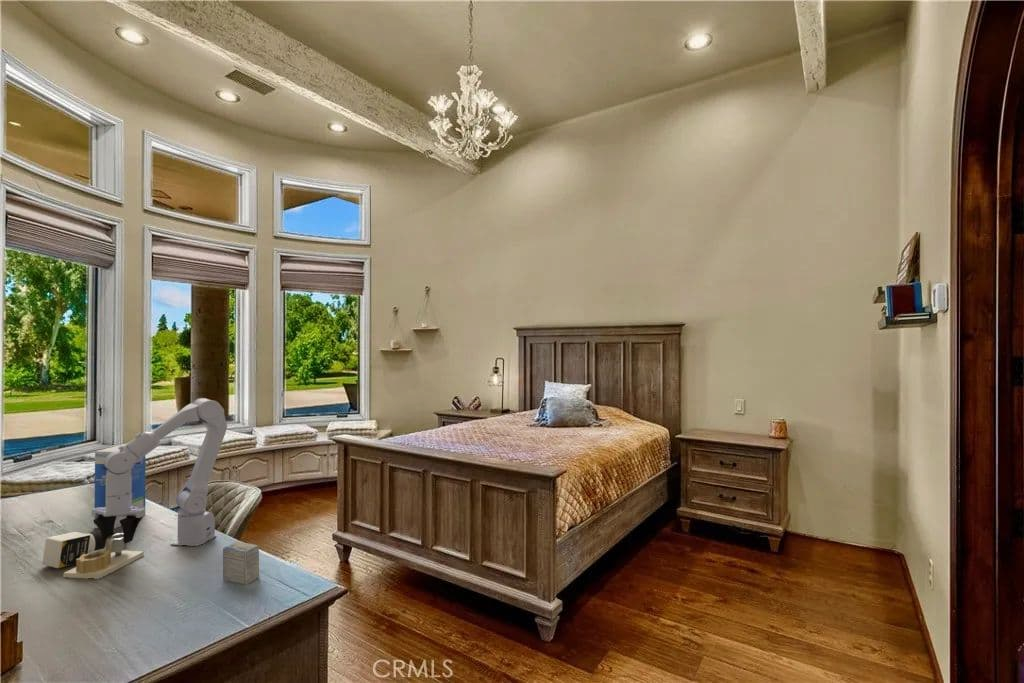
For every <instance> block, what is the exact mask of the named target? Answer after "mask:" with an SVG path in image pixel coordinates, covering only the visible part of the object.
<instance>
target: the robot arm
mask: <svg viewBox="0 0 1024 683" xmlns="http://www.w3.org/2000/svg"><path fill="white" fill-rule="evenodd" d="M199 421H201V422H202V424H203V425H204V427H205V428H206V430H207V431H206V433H205V436H204V439H203V441H202V444H201V446H200V449H199V452H198V455H197V458H196V460H195V463H194V466H193V468H192V471H191V474H190V477H189V478H188V480H187V481H186V482H185V483H184V485H183V487H182V489H181V490H180V491H179V493H178V494H177V495H176V497H175V501H176V505H177V506H178V507H180V508H179V510H178V511H177V539H176V540H174V541H172V542H170V544H169V545H170V546H182V545H187V547H188V546H189V547H200V546H202V545H203V544H205V543H206V541H207V542H208V540H209V541H210V540H212V539H214V538H216V537H217V534H216V532H215V531H216V528H215V527H216V525H215V524H216V519H215V515H214V513H213V512H209V511H207V510H206V508H207V505H208V492H209V480H210V477H211V475H212V471H213V468H214V466H215V463H216V461H217V457H218V454H219V452H220V449H221V446H222V443H223V440H224V438H225V435H226V433H227V430H228V425H227V419H226V416H225V409H224V408H223V406H222V405H221V404H220V402H218V401H217V400H213V399H212V400H211V399H209V398H205V397H200V398H197V399H195V400H194V401H193V402H192V403H189V404H187V405H185V406H184V407H183V408H181V409H180V410H179V411H177V412H176V413H174V414H173V415H172V416H171V417H169V418H168V419H167V420H165V421H164V422H163V423H162V424H161V425H159V426H157V427H156V428H155V429H153V430H152V431H143V432H142V433H141V432H138V433H137V434H135V435H134V438H133V439H132V440H129V442H126V443H127V444H126V443H125V444H126V445H124V446H120V447H118V449H119V450H118V451H114V452H112V453H110V454H109V455H108V456H107V457H106V459H105V461H104V465H105V467H106V468H107V469H108V470H107V473H106V476H107V478H106V507H98V508H95V507H94V508H92V509H91V517H95V516H98V517H97V519H95V518H93V524H94V523H95V524H96V525H97V527H98V528H97V529H98V530H99V531H100V532H101V535H102V538H103V541H104V543H106V538H108V536H110V535H114V531H115V529H114V524H115V520H116V517H117V516H126V518H124V519H122V520H120V524H121V526H120V527H121V528H122V533H123V539H124V543H129V542H131V543H132V542H133V540H134V536H135V534H136V531H137V527H138V526H139V524H140V523H141V520H142V519H143V518H144V517H145V516H146V508H145V509H141V508H137V507H133V506H131V493H132V492H131V487H132V476H131V469H132V467H133V466H134V463H135V462H136V461H138V460H139V459H141V458H142V457H144V456H145V457H146V455H149V453H150V452H153V451H154V450H155V449H156V448H158V447H159V445H160V442H161V440H162V439H163V438H165V437H167V436H168V435H169V434H171V433H173V431H174V432H175V430H177V429H179V428H180V427H182V426H183V425H185V424H186V423H192V422H194V423H195V422H199ZM201 544H202V545H201ZM199 545H200V546H199Z"/></svg>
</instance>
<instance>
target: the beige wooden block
mask: <svg viewBox="0 0 1024 683" xmlns="http://www.w3.org/2000/svg"><path fill="white" fill-rule="evenodd" d="M256 578H257V579H259V578H260V546H259V545H258V544H254V543H247V542H243V541H242V542H241V541H235V542H232V543H230V544H228V545H226V546H224V547H223V548H222V580H223V581H225V580H226V581H227V582H231V583H235V584H241V585H245V586H247V585H248V584H250V583H252V582H254V581H255V580H257V579H256ZM253 580H254V581H253ZM251 581H252V582H251Z"/></svg>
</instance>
